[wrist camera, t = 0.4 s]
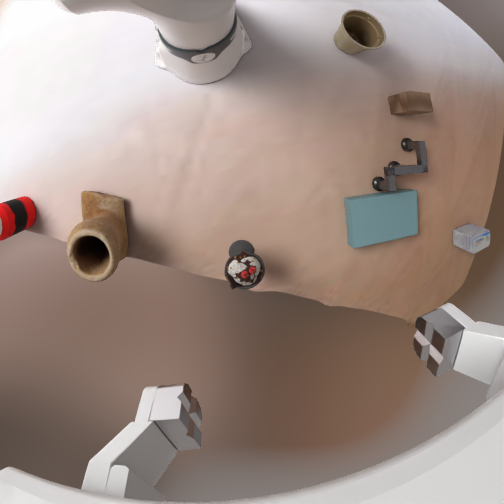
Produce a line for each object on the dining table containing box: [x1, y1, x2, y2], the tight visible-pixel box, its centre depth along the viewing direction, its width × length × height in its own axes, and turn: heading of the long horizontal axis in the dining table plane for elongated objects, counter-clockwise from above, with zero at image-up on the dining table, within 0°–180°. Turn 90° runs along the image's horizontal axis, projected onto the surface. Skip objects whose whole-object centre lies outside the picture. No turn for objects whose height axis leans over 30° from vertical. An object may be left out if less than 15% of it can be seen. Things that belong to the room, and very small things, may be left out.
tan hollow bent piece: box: [67, 191, 128, 282], centre depth 45 cm, size 15×12×15 cm
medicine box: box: [453, 223, 490, 254], centre depth 56 cm, size 8×4×9 cm, turn 106°
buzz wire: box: [372, 138, 428, 191], centre depth 50 cm, size 11×12×6 cm
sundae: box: [225, 240, 265, 289], centre depth 49 cm, size 7×7×15 cm
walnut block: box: [388, 91, 433, 115], centre depth 45 cm, size 4×6×8 cm, turn 100°
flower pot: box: [334, 10, 386, 54], centre depth 39 cm, size 9×9×9 cm
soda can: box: [0, 197, 36, 241], centre depth 43 cm, size 8×8×12 cm
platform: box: [344, 189, 418, 248], centre depth 55 cm, size 10×17×3 cm, turn 100°
